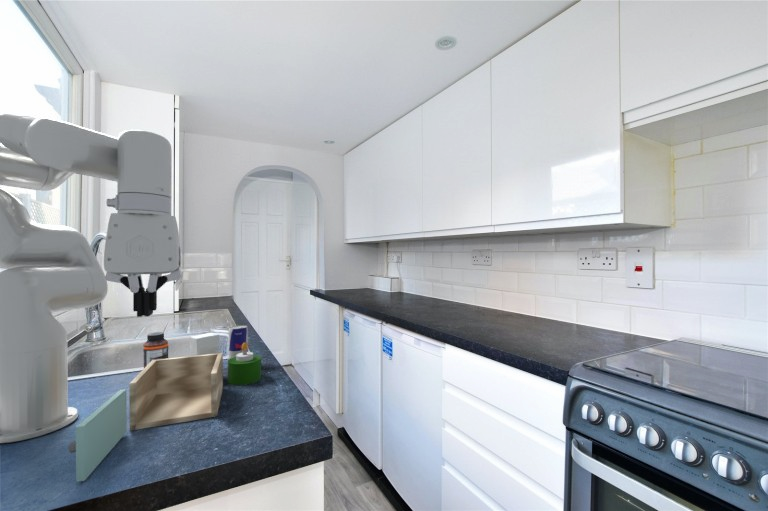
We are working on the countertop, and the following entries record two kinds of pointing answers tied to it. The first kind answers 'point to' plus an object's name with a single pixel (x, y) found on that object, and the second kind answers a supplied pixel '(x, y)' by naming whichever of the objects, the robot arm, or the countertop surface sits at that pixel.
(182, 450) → the countertop surface
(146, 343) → the supplement bottle
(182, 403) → the crate
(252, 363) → the candle
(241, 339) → the energy drink
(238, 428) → the countertop surface
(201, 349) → the skincare box
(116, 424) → the door
